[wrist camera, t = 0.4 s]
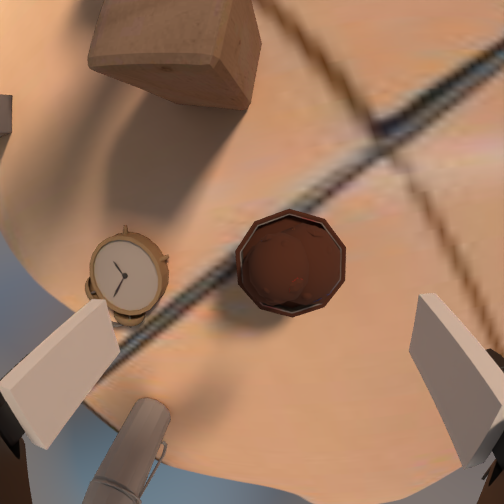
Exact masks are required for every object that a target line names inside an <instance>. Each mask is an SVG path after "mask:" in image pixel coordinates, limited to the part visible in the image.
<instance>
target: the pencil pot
mask: <svg viewBox="0 0 504 504" xmlns="http://www.w3.org/2000/svg"><path fill="white" fill-rule="evenodd" d="M11 132H12V95H2V94H0V137H2V136H4V135H6V134H9V133H11Z"/></svg>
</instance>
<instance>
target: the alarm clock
mask: <svg viewBox="0 0 504 504" xmlns="http://www.w3.org/2000/svg"><path fill="white" fill-rule="evenodd" d="M168 258H169V255H165V256H164V255H163V254H162V252H161V250H160V249H159V247H158V246H157V245H155V244H154V243H153V242H152V241H151V240H150V239H149V238H147V237H145V236H143V235H141V234H139V233H133V232H128V228H127V225H124V229H123V233H120V234H117V235H115V236H113V237H109V238H107V239H106V240H104V241H103V242H101V243H100V244H99V245H98V246H97V248H96V249H95V251H94V252H93V254H92V257H91V261H90V277H89V278H88V279H87V281H86V284H85V292H86V295H87V297H88V298H89V300H92V299H103V300H106V303H107V306H108V307H109V308H111V309H112V310H114V317H115V319H116V320H117V322H118V323H116V322H113V321H111V322H112V326H113V327H119V326H129V327H132V326H136V325H138V324H140V323H141V322H142V321H143V319H144V317H145V312H146V311H148V310H150V309H151V308H152V306H153V305H154V304H155V303H156V302H157V301H158V300H159V299H160V297H161V296H162V295H163V294H164V292H165V290H166V287H167V285H168V278H169V270H168V266H167V263H166V259H168Z"/></svg>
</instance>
